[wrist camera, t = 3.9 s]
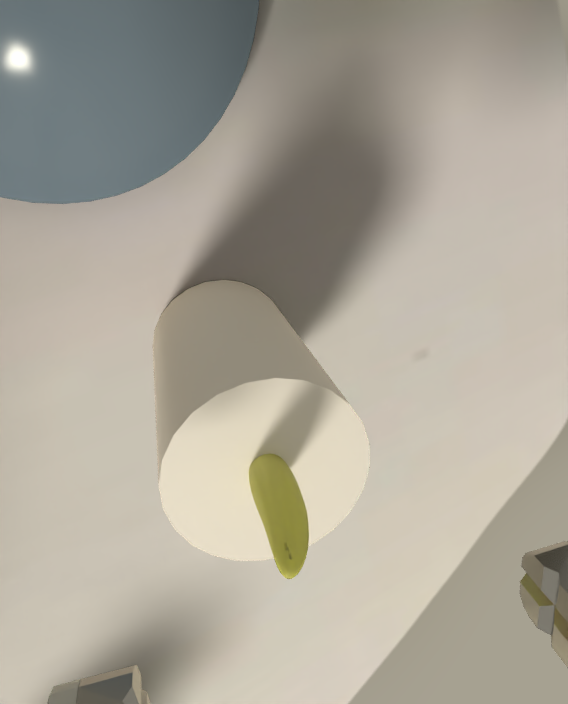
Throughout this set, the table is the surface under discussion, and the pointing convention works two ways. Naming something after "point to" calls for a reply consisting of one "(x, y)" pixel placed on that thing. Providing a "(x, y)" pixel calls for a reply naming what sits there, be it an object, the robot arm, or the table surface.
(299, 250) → the table surface
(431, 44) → the table surface
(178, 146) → the candle dish
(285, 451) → the candle
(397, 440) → the table surface
